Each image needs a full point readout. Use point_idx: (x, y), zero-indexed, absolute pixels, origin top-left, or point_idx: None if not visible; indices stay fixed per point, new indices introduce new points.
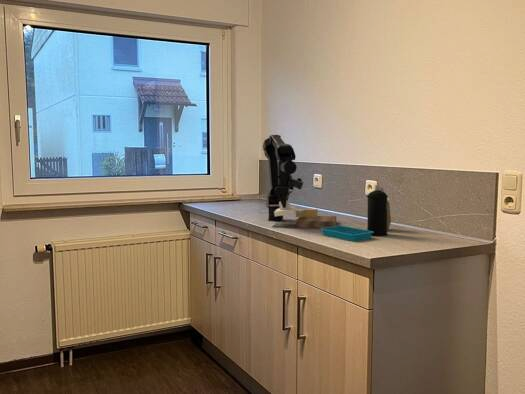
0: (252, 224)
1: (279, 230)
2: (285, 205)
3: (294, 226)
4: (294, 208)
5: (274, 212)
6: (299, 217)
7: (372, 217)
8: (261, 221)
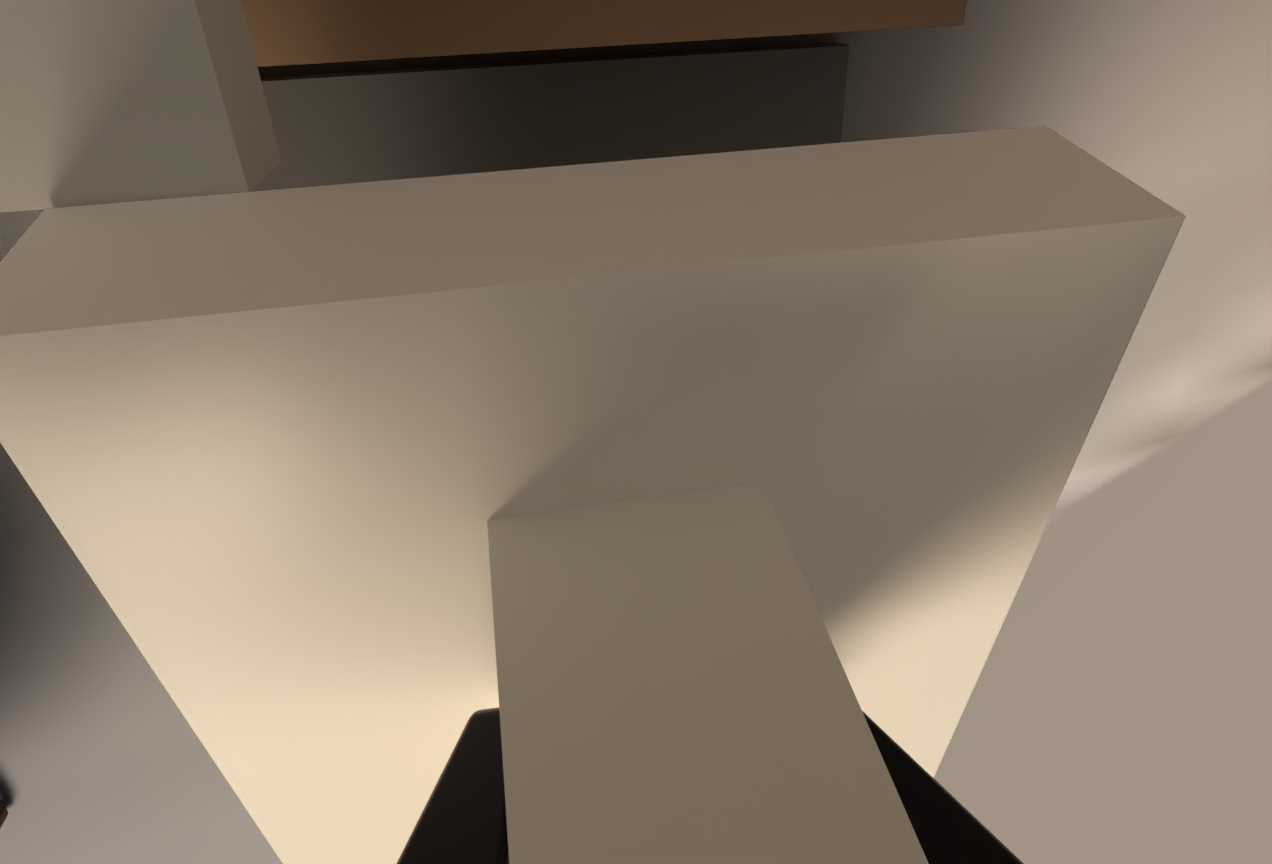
0: None
1: (1204, 312)
2: (881, 742)
3: (826, 56)
4: (894, 241)
5: (929, 760)
6: None
7: None
8: (157, 861)
